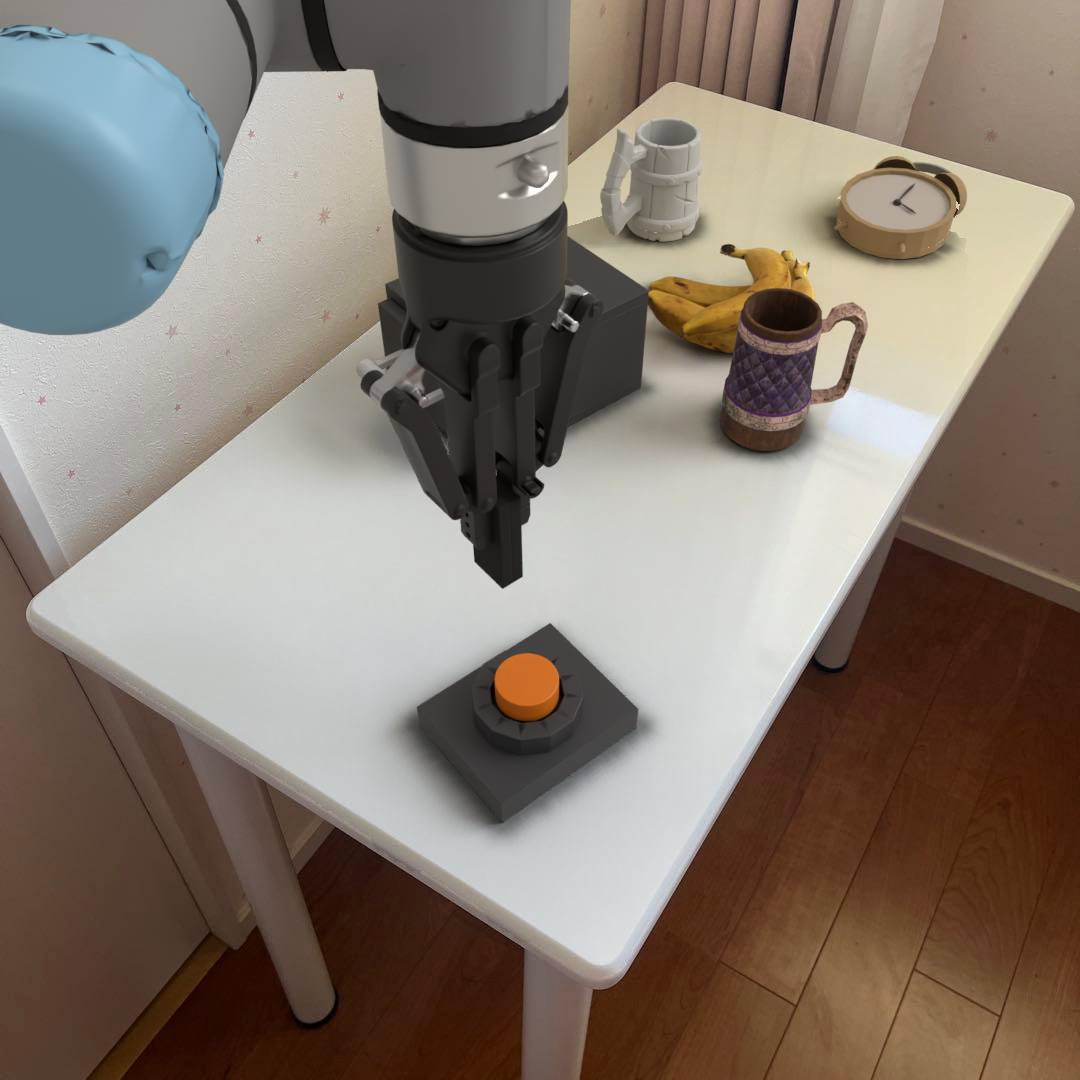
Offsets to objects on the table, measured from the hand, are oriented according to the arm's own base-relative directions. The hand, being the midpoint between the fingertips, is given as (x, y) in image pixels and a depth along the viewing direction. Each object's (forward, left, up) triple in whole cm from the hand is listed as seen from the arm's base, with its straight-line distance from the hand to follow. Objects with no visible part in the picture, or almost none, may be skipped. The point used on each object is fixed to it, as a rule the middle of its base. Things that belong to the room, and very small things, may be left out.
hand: (498, 568), depth 64 cm
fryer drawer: (-3, +30, -12) cm, 33 cm away
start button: (+2, -2, -9) cm, 10 cm away
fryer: (0, +33, -13) cm, 35 cm away
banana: (+19, +44, -13) cm, 49 cm away
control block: (+2, -2, -13) cm, 13 cm away
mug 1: (+12, +58, -13) cm, 60 cm away
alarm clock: (+38, +60, -13) cm, 72 cm away
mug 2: (+22, +28, -13) cm, 38 cm away
